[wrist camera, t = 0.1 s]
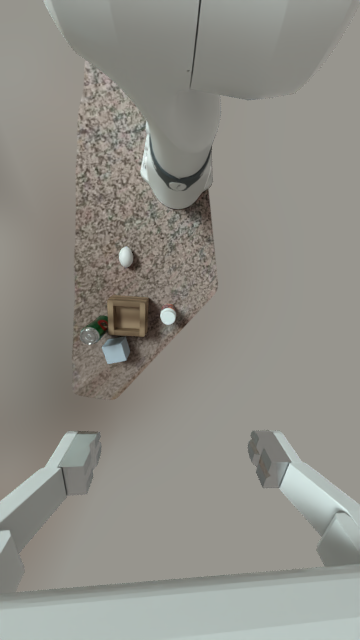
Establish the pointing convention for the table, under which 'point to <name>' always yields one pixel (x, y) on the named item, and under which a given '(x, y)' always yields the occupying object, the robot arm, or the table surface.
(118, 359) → the slate block
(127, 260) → the egg
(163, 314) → the pill bottle
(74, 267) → the table surface
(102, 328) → the soda can
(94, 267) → the table surface
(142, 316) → the wooden open box
